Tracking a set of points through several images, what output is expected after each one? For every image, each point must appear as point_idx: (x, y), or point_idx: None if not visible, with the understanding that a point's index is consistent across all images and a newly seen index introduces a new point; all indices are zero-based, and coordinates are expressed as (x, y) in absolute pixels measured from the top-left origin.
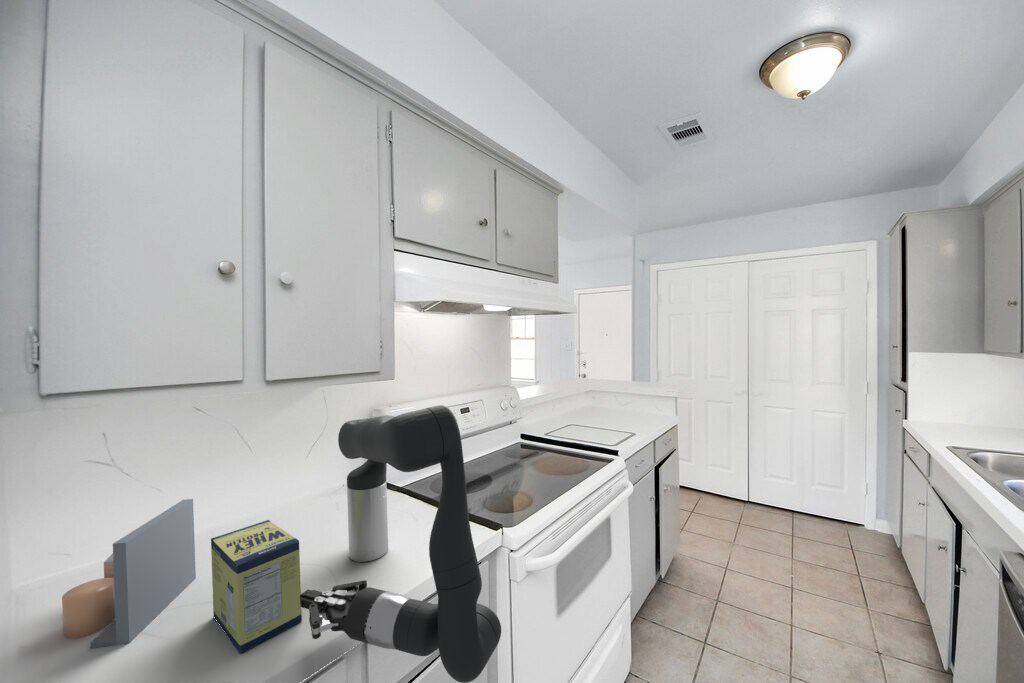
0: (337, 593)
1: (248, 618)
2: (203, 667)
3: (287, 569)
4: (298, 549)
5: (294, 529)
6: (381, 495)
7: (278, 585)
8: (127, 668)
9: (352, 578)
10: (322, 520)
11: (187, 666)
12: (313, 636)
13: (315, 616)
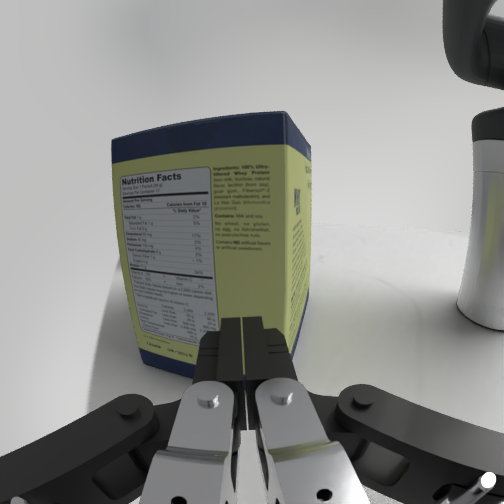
0: (299, 492)
1: (140, 299)
2: (111, 338)
3: (236, 206)
4: (281, 144)
5: (396, 244)
6: None
7: (205, 250)
8: (118, 286)
9: (452, 351)
10: (430, 247)
11: (116, 322)
12: None
13: (17, 471)
